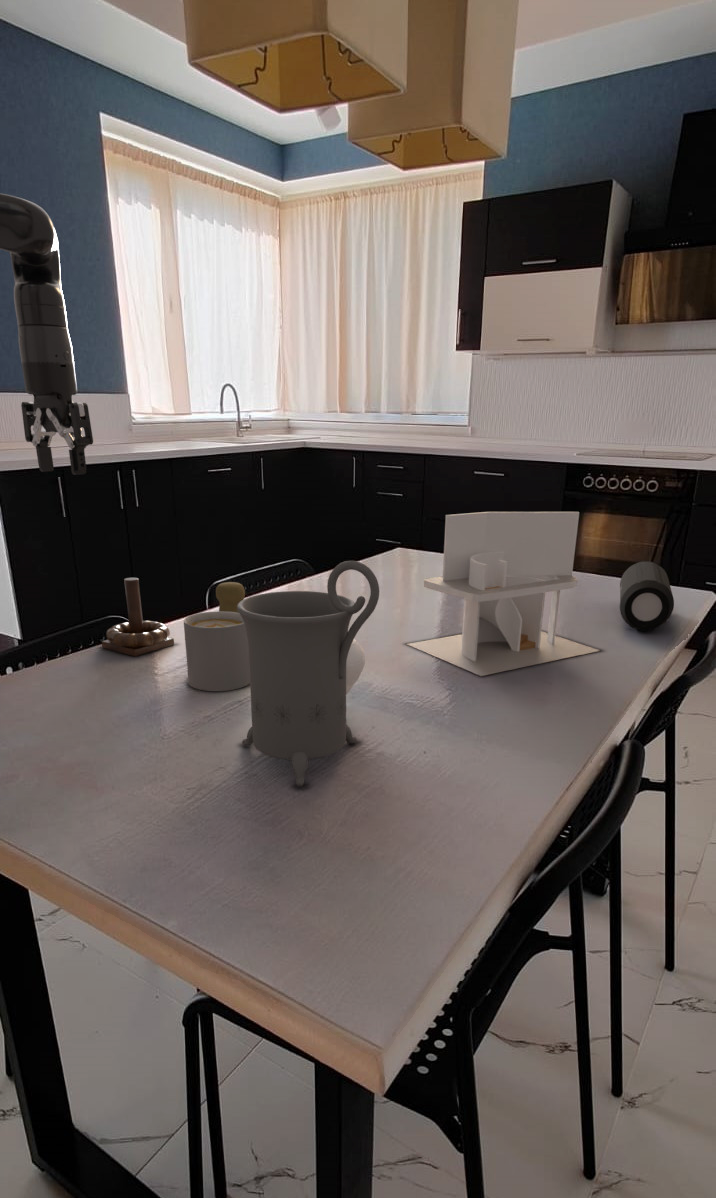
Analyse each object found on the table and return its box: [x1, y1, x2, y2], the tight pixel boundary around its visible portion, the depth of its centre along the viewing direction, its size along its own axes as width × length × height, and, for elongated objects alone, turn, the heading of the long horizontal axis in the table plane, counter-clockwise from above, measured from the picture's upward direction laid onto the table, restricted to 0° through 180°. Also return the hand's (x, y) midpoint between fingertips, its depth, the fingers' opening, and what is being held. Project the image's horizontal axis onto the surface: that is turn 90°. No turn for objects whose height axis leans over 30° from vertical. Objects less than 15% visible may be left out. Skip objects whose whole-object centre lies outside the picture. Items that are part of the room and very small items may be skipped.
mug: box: [237, 560, 380, 787], centre depth 91 cm, size 19×15×25 cm
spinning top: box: [346, 638, 366, 695], centre depth 110 cm, size 8×8×12 cm
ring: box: [105, 620, 171, 647], centre depth 138 cm, size 11×11×2 cm
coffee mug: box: [183, 610, 250, 692], centre depth 122 cm, size 13×10×10 cm
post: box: [101, 577, 175, 657], centre depth 137 cm, size 9×9×12 cm
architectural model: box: [406, 511, 601, 677], centre depth 136 cm, size 28×21×23 cm
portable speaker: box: [619, 560, 675, 632], centre depth 159 cm, size 26×10×10 cm, turn 163°
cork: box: [215, 581, 246, 613], centre depth 140 cm, size 6×6×11 cm
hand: (62, 472), depth 123 cm, fingers open, 8 cm apart
